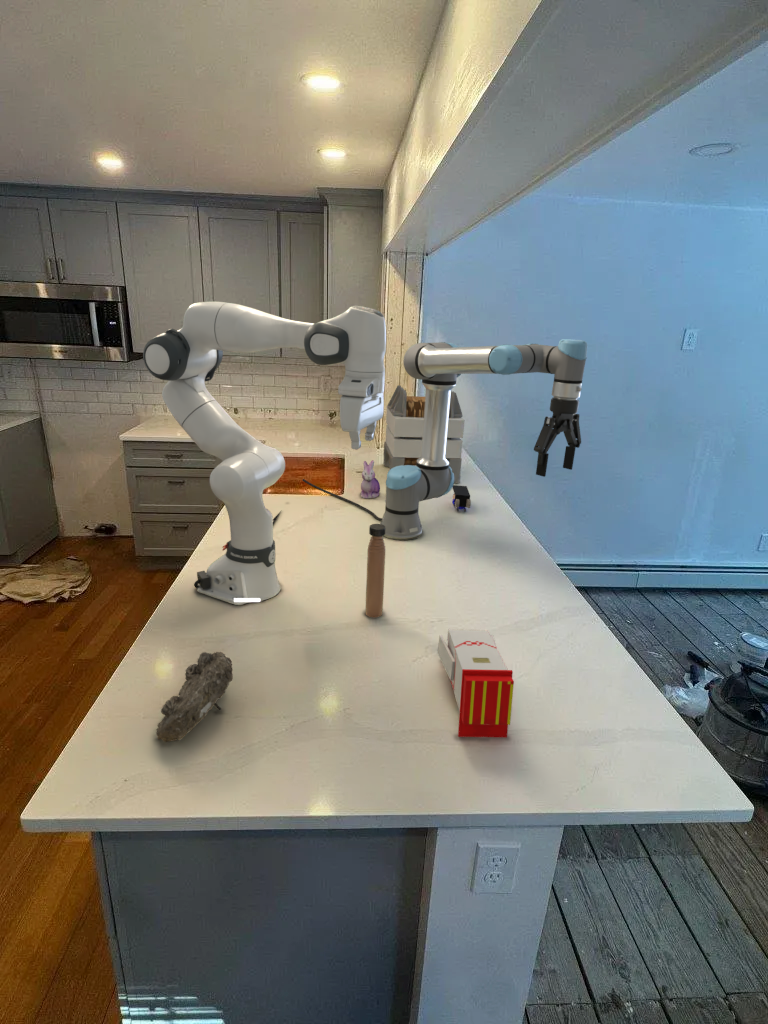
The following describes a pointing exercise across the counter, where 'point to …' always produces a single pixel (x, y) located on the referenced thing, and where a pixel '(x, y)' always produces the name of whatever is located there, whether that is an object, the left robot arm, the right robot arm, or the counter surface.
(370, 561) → the bottle
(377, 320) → the left robot arm
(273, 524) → the feather
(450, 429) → the white slatted crate
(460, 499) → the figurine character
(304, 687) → the counter surface
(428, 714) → the counter surface
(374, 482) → the figurine
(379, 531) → the cap
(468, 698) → the toy
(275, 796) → the counter surface
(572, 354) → the right robot arm
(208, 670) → the fossil
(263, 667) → the counter surface
